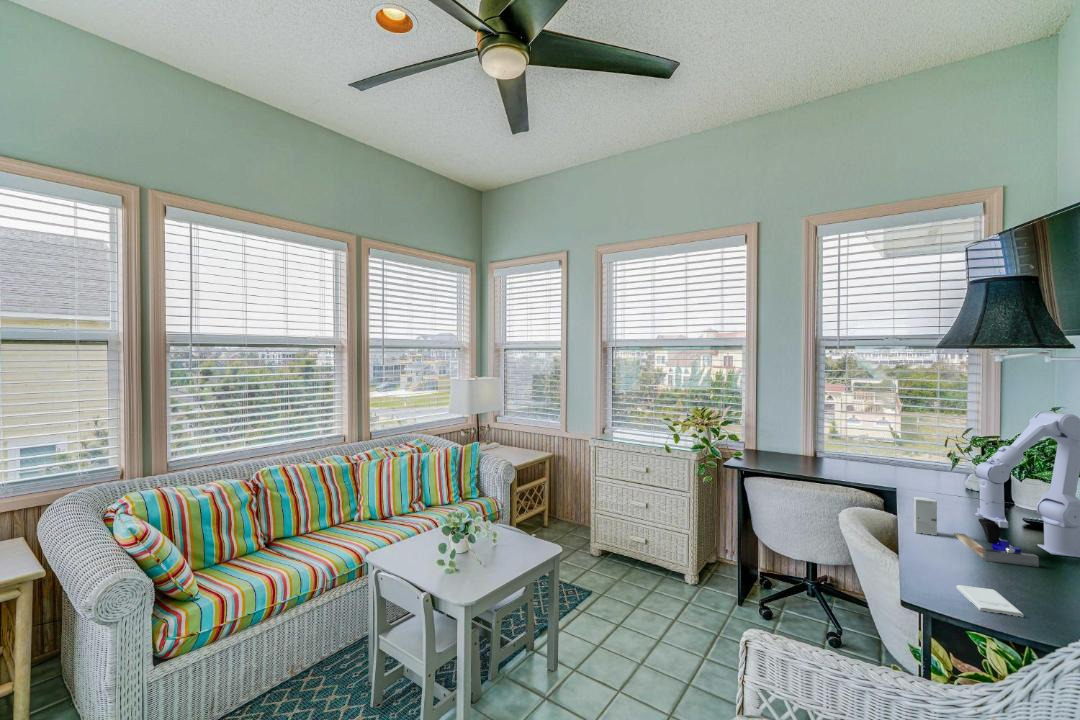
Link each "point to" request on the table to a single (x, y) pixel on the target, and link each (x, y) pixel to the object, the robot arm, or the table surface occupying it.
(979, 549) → the birch track
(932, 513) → the skincare box
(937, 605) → the table surface
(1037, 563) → the block
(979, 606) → the external hard drive
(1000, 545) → the cable holder
